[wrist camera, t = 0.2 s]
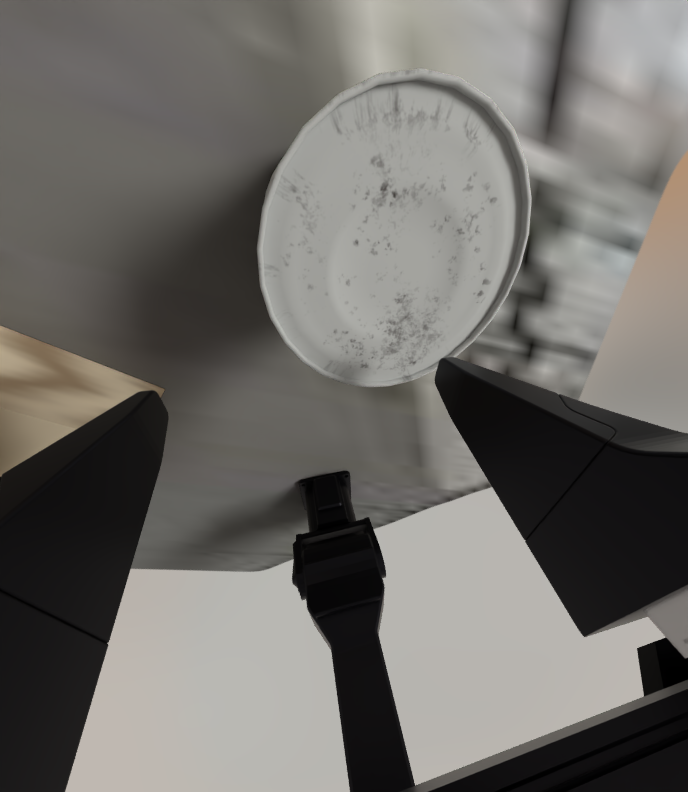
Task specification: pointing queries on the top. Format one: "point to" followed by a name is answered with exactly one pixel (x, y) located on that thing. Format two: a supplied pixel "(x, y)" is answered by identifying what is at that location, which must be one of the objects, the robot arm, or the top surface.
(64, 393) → the beige ridged block
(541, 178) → the top surface
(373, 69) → the top surface
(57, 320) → the top surface
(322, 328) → the grey round cylinder
